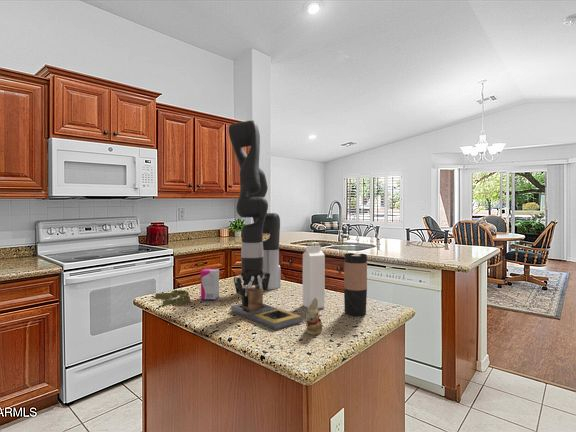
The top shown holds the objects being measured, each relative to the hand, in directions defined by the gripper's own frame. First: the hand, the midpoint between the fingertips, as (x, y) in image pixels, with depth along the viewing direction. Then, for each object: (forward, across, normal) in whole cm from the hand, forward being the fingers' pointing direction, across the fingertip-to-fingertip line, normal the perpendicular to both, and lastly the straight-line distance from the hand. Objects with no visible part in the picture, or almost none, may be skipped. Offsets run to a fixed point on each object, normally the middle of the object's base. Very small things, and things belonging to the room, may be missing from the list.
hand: (252, 304), depth 120 cm
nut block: (+3, 0, 0) cm, 3 cm away
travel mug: (+3, -26, +24) cm, 35 cm away
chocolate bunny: (+3, -3, +26) cm, 27 cm away
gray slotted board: (+3, 0, +6) cm, 7 cm away
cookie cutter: (+3, +13, -33) cm, 36 cm away
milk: (+3, -21, +8) cm, 23 cm away
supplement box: (+3, +2, -26) cm, 26 cm away
